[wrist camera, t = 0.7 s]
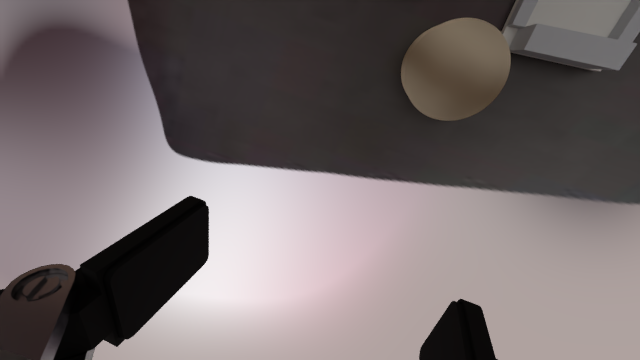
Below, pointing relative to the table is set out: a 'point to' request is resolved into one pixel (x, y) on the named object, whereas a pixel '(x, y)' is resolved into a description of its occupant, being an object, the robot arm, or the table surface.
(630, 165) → the table surface
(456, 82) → the bobbin
